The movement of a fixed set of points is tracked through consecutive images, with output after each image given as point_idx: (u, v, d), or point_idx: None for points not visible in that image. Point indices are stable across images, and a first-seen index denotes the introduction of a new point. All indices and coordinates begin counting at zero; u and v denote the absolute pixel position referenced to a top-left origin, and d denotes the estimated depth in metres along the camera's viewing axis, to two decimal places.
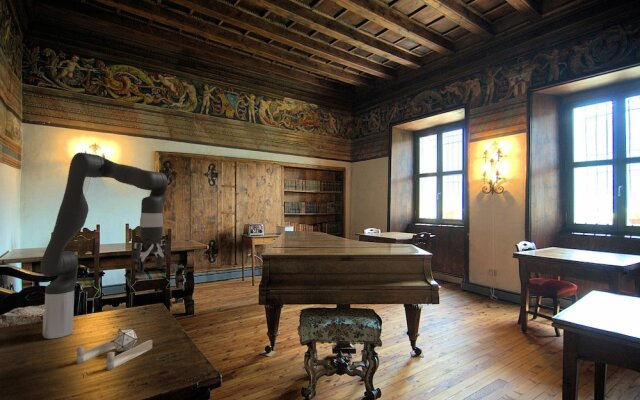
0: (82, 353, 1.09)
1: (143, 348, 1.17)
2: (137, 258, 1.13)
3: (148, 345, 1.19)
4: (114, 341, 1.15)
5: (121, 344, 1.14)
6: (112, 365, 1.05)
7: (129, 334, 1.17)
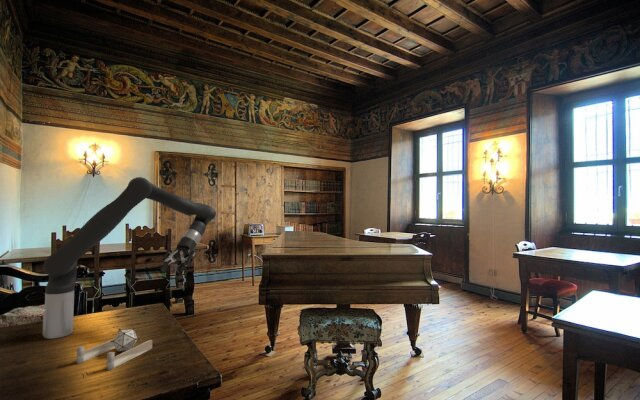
0: (82, 353, 1.09)
1: (143, 348, 1.17)
2: None
3: (148, 345, 1.19)
4: (114, 341, 1.15)
5: (121, 344, 1.14)
6: (112, 365, 1.05)
7: (129, 334, 1.17)
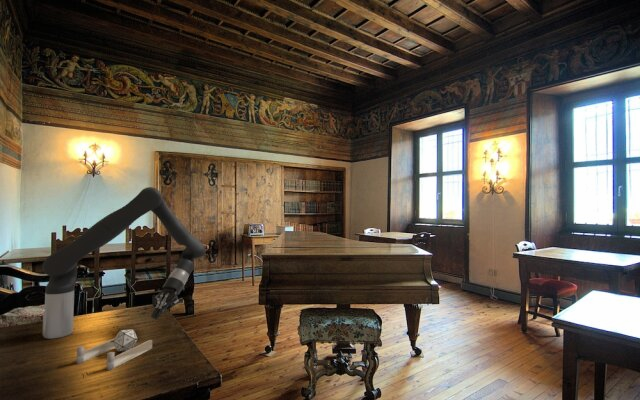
0: (82, 353, 1.09)
1: (143, 348, 1.17)
2: None
3: (148, 345, 1.19)
4: (114, 341, 1.15)
5: (121, 344, 1.14)
6: (112, 365, 1.05)
7: (129, 334, 1.17)
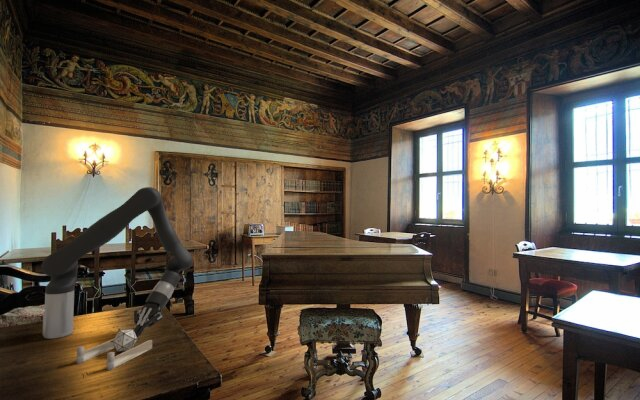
0: (82, 353, 1.09)
1: (143, 348, 1.17)
2: None
3: (148, 345, 1.19)
4: (114, 342, 1.15)
5: (121, 344, 1.14)
6: (112, 365, 1.05)
7: (128, 334, 1.17)
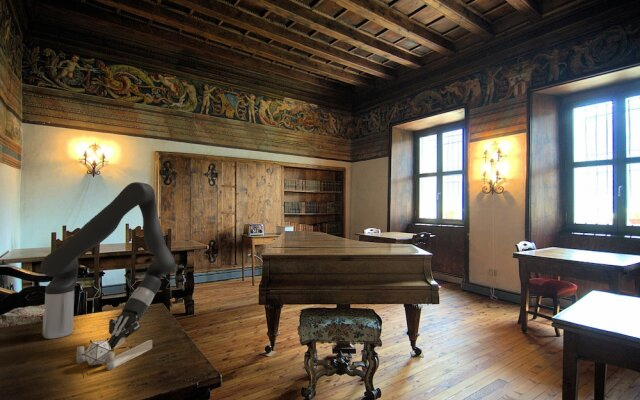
0: (82, 353, 1.09)
1: (143, 348, 1.17)
2: None
3: (148, 345, 1.19)
4: (86, 355, 1.04)
5: (94, 357, 1.04)
6: (112, 365, 1.05)
7: (102, 346, 1.07)
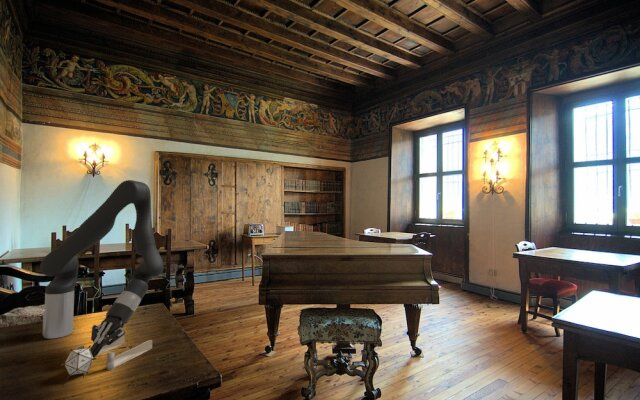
0: None
1: (143, 348, 1.17)
2: None
3: (148, 345, 1.19)
4: (66, 364, 0.98)
5: (75, 366, 0.98)
6: (112, 365, 1.05)
7: (84, 354, 1.01)
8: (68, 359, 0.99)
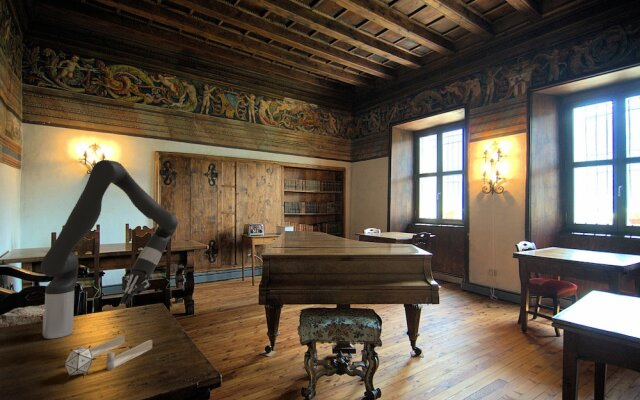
0: None
1: (143, 348, 1.17)
2: None
3: (148, 345, 1.19)
4: (66, 364, 0.98)
5: (75, 367, 0.98)
6: (112, 365, 1.05)
7: (84, 354, 1.01)
8: (68, 359, 0.99)
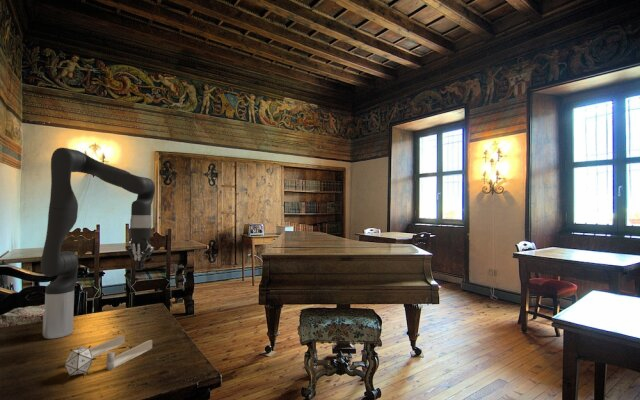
0: None
1: (143, 348, 1.17)
2: None
3: (148, 345, 1.19)
4: (66, 364, 0.98)
5: (75, 367, 0.98)
6: (112, 365, 1.05)
7: (84, 354, 1.01)
8: (68, 359, 0.99)
